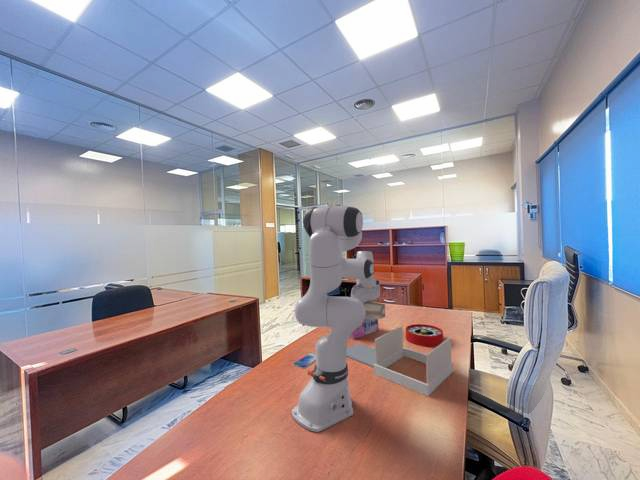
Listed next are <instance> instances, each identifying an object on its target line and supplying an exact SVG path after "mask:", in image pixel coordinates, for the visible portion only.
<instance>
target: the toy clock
mask: <svg viewBox="0 0 640 480" xmlns="http://www.w3.org/2000/svg"><path fill="white" fill-rule="evenodd" d="M405 340H406V341H407V342H408V343H410V344H413V345H415V346H419V347H427V348H432V347H434V348H436V347H437V346H438V345H440V344H441V343H443V342H444V331H443V330H442V329H441V328H439V327H438V326H434V325H432V324H431V325H430V324H425V323H421V324H420V323H416V324H410V325H407V326H405Z"/></svg>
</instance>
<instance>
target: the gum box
mask: <svg viewBox="0 0 640 480" xmlns="http://www.w3.org/2000/svg"><path fill="white" fill-rule="evenodd" d="M378 331H379V319H377V318H373V317H369V316H365V319H364V322H363V323H362V324H361V326H359V327H358V328H357V329H355V330H354V331H353V332H352V334H351V335H350V338H349V339H352V340H355V339H359V338H362V337H365V336H366V335H370V334H372V332H373V333H375V332H378ZM364 335H365V336H364Z"/></svg>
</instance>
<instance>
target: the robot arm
mask: <svg viewBox="0 0 640 480" xmlns="http://www.w3.org/2000/svg"><path fill="white" fill-rule="evenodd" d="M302 225H303V228H304V230H305V231H304V232H306V234H307V235H308V237H309V243H308V263H309V264H308V265H309V276H310V279H309V281H310V282H309V287H308V290H307V291H306V293H305V294H304V295H303V296H302V297H300V298H299V300H298V301H297V302H296V304H295V306H294V316H295V319H296V320H297V323H299V324H300V325H303V326H307V327H311V328H329V329H331V332H330V333H328V334H326V335H323V336H322V337H320V338H319V339H318V340H317V342H316V344H315V354H316V361H315V364H314V368H313V369H311V368H308V369H307V371H306V374H307V375H308V376H310V377H311V379H310V380H309V381H308V383H307V384H306V386H305V387H304V388H303V389H302V391H301V392H300V394H299V397H298V403H297V404H296V406H294V407H293V408H292V409H291V416H292V418H293V420H294V421H295V422H296V423H298V425H300V426H301V427H303V428H305V429H306V430H308V431H311V432H314V433H315V432H316V433H319V432H322V431H323V430H325V429H327V428H329V427H331V426H334V425H335V424H338V423H339V422H342V421H343V420H345V419H348V418H349V417H351V416H353V415H355V414H354V408H353V401H352V398H351V391H350V387H349V381H348V376H349V369H348V368H349V367H348V363H347V357H346V349H347V348H348V347H347V346H348V342H349V339H350V338H349V337H350V335H351V334H352V332H353V331H354V330H355V329H357V328H358V327H359V326H361V324H362V323H363V322H364V319H365V315H366V311H365V307H364V305H363V303H364V302H367V301H370V302H375V301H374V300H377V299H380V296H381V285H380V284H381V280H380V279H376V278H375V263H374V255H373V252H372V251H370V250H359V251H357V252H356V257H355V258H345V257H344V256H343V252H346V251H351V250H353V249H355V248H356V247H357V246H359V244H360V243H361V242H362V239H363V232H362V230H363V226H364V219H363V214H362V211H360V210H359V208H357V207H354V206H347V205H338V206H334V205H326V206H325V205H324V206H313V207H310V208H307V209H306V210H305V212H304V213H303V218H302ZM347 279H349V280H351V279H353V280H356V284H354V285H353V286H352V288H351V292H350V296H330V295H328V294H329V293H331V292H332V291H335V290H336V289H338V288H339V287H340V285H341V284H342V282H343V280H347Z"/></svg>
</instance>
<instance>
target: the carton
mask: <svg viewBox="0 0 640 480" xmlns="http://www.w3.org/2000/svg"><path fill="white" fill-rule="evenodd" d="M403 332H404V331H403V325H400V326H399V327H395V328H394V329H393V330H390V331H388V332H385V333H384V334H382V335H380V336H379V337H377V338H374V349H375V364H374V367H373V374H374V375H376V376H379V377H381V378H384V379H386V380H388V381H390V382H393V383H395V384H397V385H399V386H403V387H405V388H407V389H410V390H412V391H414V392H417V393H419V394H421V395H424V396H426V397H429V396H430V395H431V394H432V393H433V392H434V391H436V389H437V388H438V387H439V386H440V384H442V383H443V382H444V381H445V380H446V379H447V378H448V377H450V375H451V374H452V373H453V372H454V363H453V361H452V339H451V338H452V337H448V338H447V339H445V340H443V343H441V344H440V345H438V346H435V347H434V348H433V349H432V350H431V351H429V352H428V353H424V352H421V351H416V350H414V349H411V348H407V347H404V339H403V338H404V337H403V335H404V334H403ZM403 357H405V358H409V359H411V360H414V361H418V362H420V363H423V364H425V366H426V369H425V370H426V373H425V374H426V377H425V378H426V383H425V382H424V381H421V380H418V379H415V378H413V377H410V376H408V375H405V374H403V373H400V372H398V371H395V370H393V369H392V370H391V369H389V368H388V367H390V366H391V365H393V364H394V363H396V362H397V361H398V360H400V359H402V358H403Z"/></svg>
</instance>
